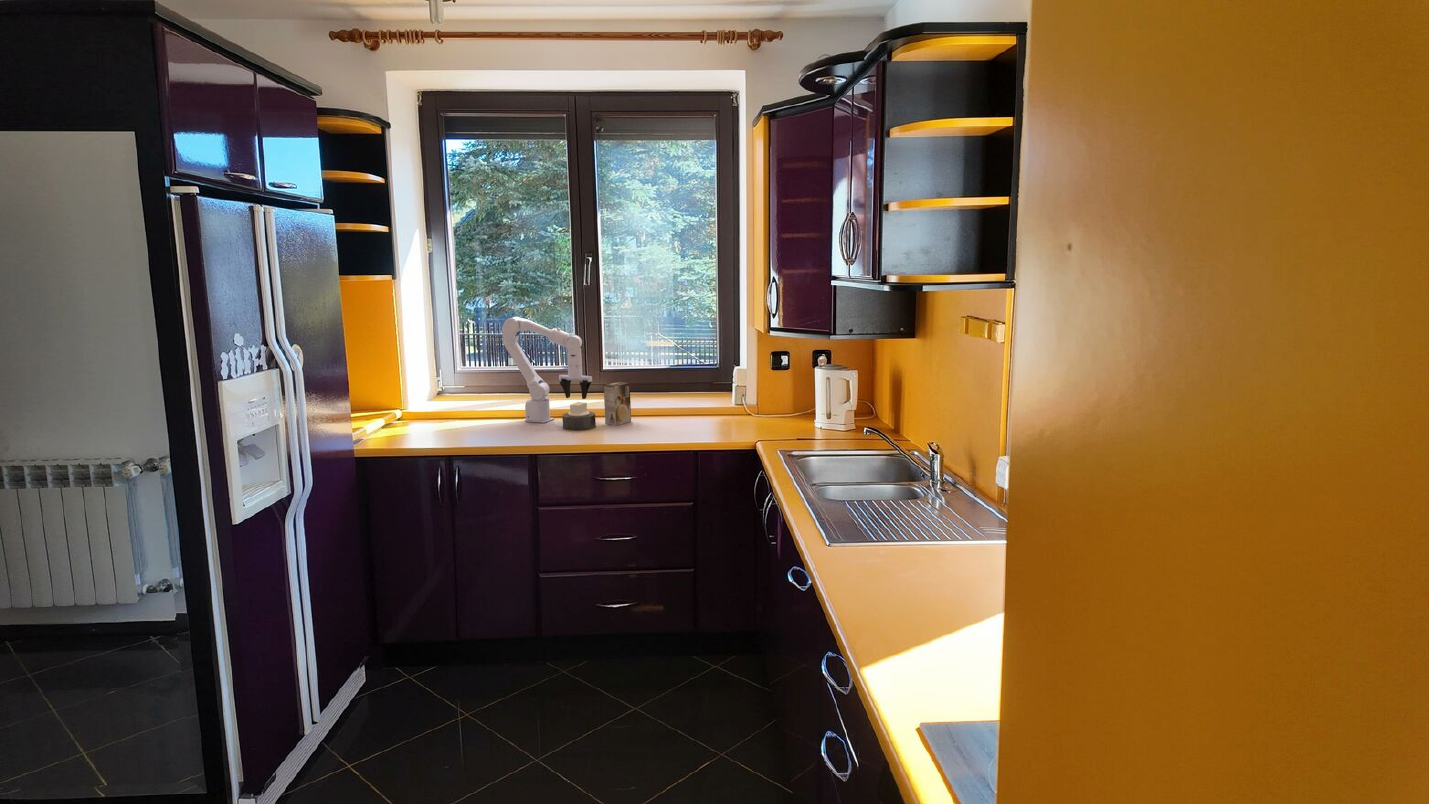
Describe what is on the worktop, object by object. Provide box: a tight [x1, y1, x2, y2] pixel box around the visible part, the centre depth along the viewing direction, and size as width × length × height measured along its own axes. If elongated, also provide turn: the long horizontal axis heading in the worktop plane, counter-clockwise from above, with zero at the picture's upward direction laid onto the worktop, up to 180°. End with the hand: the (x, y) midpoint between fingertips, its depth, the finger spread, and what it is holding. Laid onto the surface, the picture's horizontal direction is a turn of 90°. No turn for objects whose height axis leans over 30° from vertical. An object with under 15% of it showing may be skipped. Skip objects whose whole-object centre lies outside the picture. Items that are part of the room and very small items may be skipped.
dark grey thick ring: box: [561, 411, 597, 431], centre depth 332 cm, size 13×13×5 cm
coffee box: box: [603, 381, 632, 426], centre depth 338 cm, size 9×6×16 cm
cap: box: [567, 401, 590, 417], centre depth 331 cm, size 8×8×7 cm
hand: (576, 398), depth 343 cm, fingers open, 7 cm apart
